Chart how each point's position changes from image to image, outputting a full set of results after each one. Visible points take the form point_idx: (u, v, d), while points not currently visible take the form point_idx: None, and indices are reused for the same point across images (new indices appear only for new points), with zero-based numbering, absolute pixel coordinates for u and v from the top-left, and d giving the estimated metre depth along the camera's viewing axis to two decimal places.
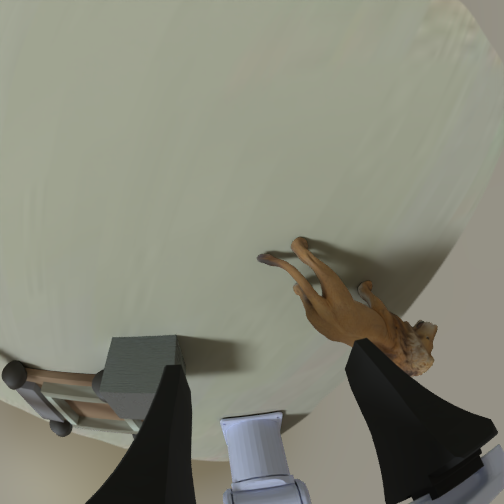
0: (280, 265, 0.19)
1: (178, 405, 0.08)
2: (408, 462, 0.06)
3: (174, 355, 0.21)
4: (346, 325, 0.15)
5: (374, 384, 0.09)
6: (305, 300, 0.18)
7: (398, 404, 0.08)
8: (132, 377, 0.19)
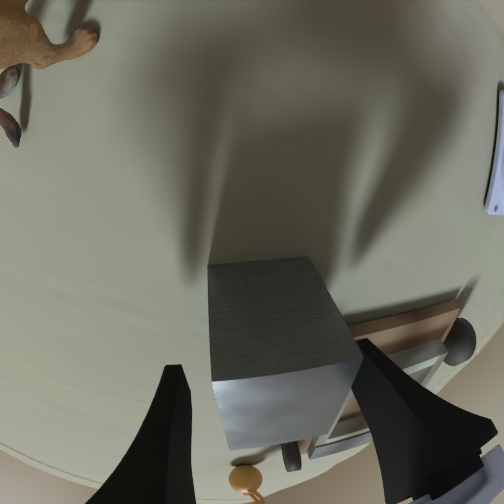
0: None
1: (178, 405, 0.08)
2: (408, 462, 0.06)
3: (209, 299, 0.10)
4: None
5: (374, 384, 0.09)
6: None
7: (398, 404, 0.08)
8: None
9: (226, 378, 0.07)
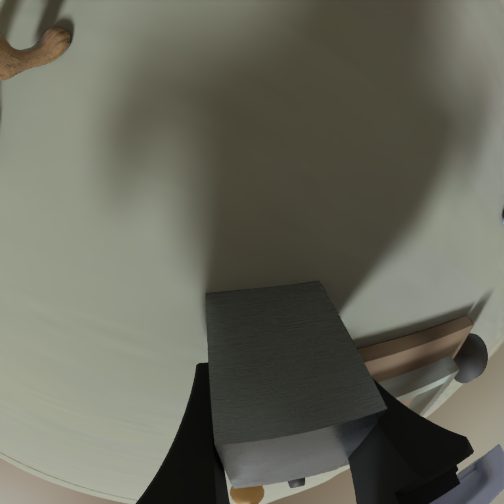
0: None
1: None
2: (376, 476, 0.06)
3: (209, 339, 0.09)
4: None
5: None
6: None
7: None
8: None
9: (231, 440, 0.06)
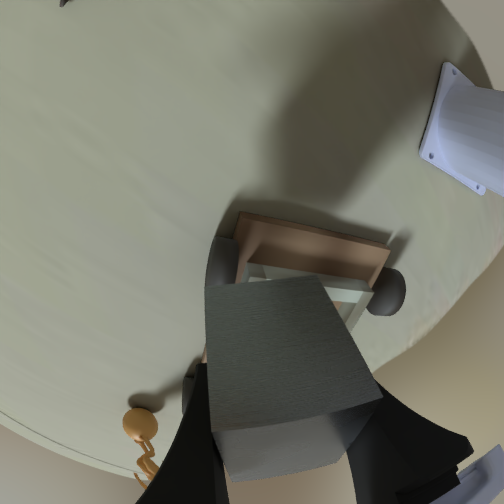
0: None
1: None
2: (376, 476, 0.06)
3: (207, 329, 0.09)
4: None
5: None
6: None
7: None
8: None
9: (228, 427, 0.06)
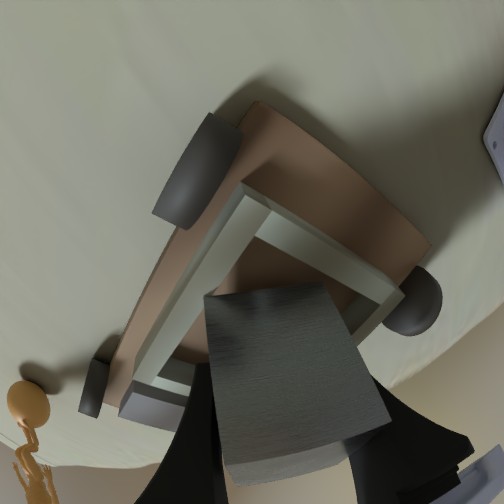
0: None
1: (213, 403, 0.09)
2: (377, 475, 0.06)
3: (210, 350, 0.08)
4: None
5: None
6: None
7: None
8: None
9: (241, 460, 0.05)
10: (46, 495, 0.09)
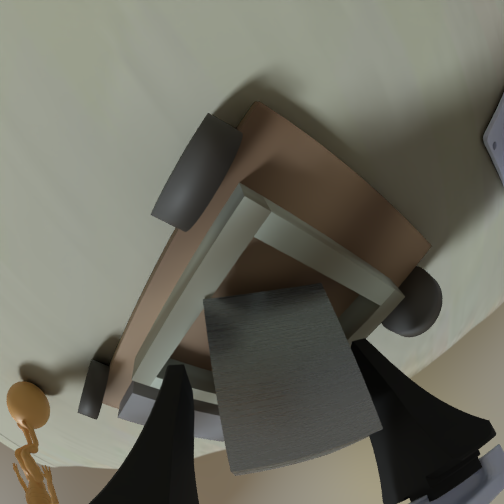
0: None
1: (181, 405, 0.08)
2: (406, 463, 0.06)
3: (212, 357, 0.08)
4: None
5: (372, 385, 0.09)
6: None
7: (396, 405, 0.08)
8: None
9: (245, 466, 0.06)
10: (46, 495, 0.09)
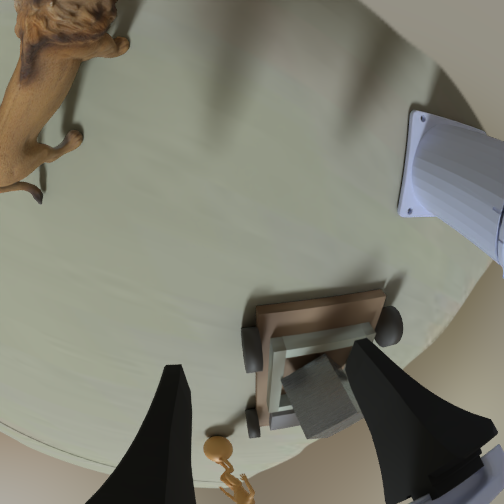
0: (26, 190, 0.13)
1: (178, 405, 0.08)
2: (408, 462, 0.06)
3: (291, 401, 0.21)
4: None
5: (374, 384, 0.09)
6: None
7: (398, 404, 0.08)
8: None
9: (310, 436, 0.18)
10: (246, 492, 0.26)
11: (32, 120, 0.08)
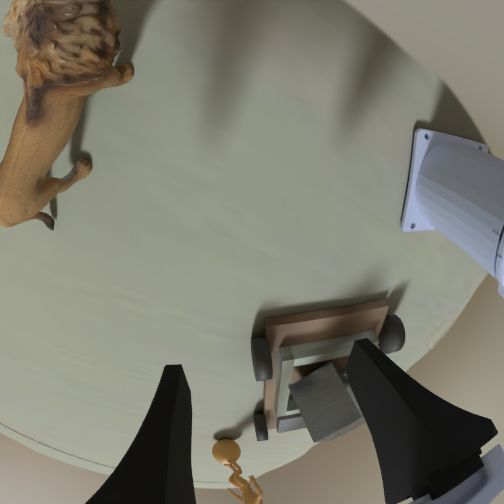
0: None
1: (178, 405, 0.08)
2: (408, 462, 0.06)
3: (298, 407, 0.22)
4: None
5: (374, 384, 0.09)
6: None
7: (398, 404, 0.08)
8: None
9: (317, 439, 0.19)
10: (254, 493, 0.27)
11: (43, 160, 0.09)
